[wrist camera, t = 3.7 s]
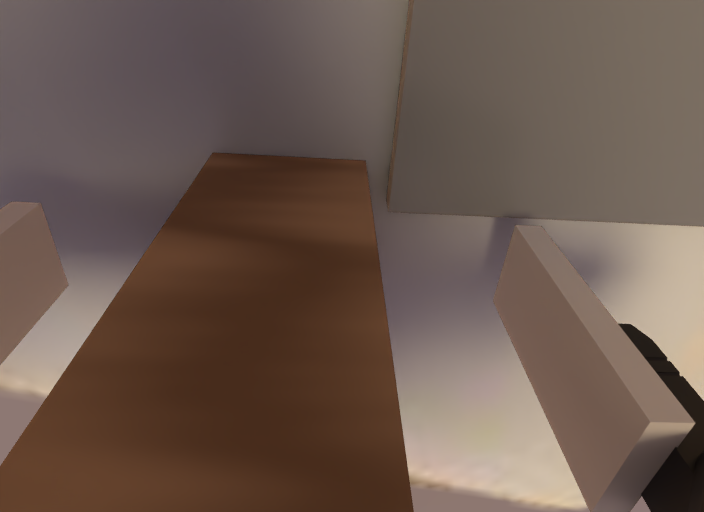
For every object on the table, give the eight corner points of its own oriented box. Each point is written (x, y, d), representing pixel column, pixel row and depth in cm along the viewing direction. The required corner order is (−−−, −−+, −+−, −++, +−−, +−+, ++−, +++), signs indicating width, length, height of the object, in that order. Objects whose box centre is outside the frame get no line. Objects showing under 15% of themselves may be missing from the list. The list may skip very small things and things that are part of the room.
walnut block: (226, 277, 16) (62, 728, 6) (213, 152, 13) (-84, 588, 4) (355, 282, 16) (377, 722, 7) (365, 160, 13) (423, 588, 4)
